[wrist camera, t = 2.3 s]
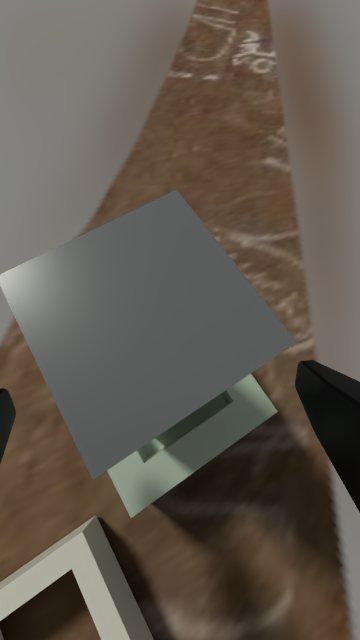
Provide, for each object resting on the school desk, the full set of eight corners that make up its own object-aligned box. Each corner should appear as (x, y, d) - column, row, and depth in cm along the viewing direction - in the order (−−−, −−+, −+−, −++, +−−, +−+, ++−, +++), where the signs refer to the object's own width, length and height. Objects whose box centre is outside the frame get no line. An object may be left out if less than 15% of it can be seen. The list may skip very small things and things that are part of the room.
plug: (207, 399, 16) (297, 341, 4) (152, 436, 15) (92, 479, 4) (173, 347, 17) (176, 189, 5) (120, 379, 16) (-5, 276, 5)
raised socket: (255, 413, 17) (277, 411, 14) (140, 495, 16) (131, 517, 12) (184, 310, 20) (186, 283, 16) (77, 372, 18) (52, 359, 14)
